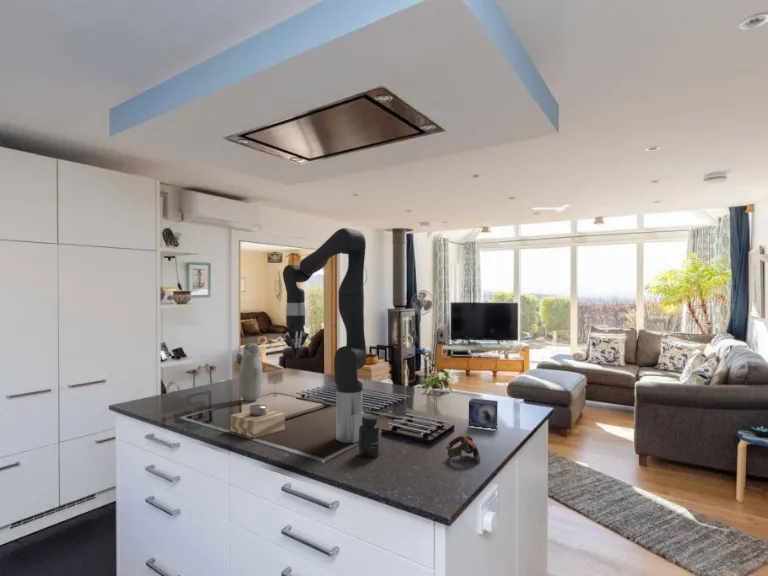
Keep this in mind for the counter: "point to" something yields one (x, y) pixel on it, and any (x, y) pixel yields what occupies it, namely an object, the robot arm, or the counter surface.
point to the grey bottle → (251, 373)
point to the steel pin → (257, 410)
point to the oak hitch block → (257, 423)
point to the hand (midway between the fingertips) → (295, 357)
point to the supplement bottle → (369, 437)
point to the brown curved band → (463, 447)
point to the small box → (483, 413)
